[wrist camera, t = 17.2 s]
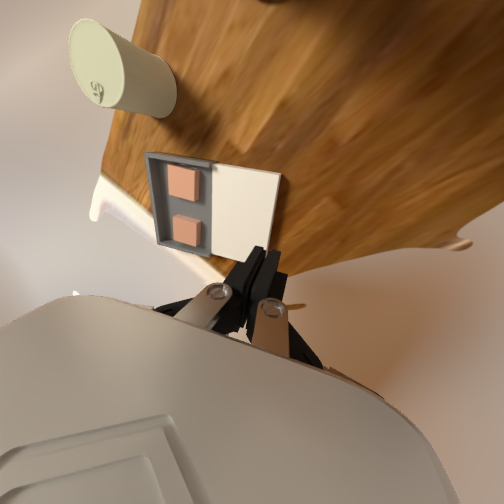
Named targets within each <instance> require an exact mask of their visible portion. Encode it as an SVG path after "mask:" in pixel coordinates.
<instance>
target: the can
mask: <svg viewBox="0 0 504 504" xmlns="http://www.w3.org/2000/svg"><path fill="white" fill-rule="evenodd" d="M68 51H69V59H70V64H71V67H72V71H73V73H74V76H75V78H76V81H77V82H78V84H79V86H80V88H81V89H82V91H83V92H84V93H85V95H86V96H87V97H88V98H89V99H90V100H91V101H92V102H94V103H95V104H96V105H98V106H101V107H103V108H112V109H118V110H124V111H129V112H134V113H140V114H145V115H149V116H152V117H155V118H164V117H166V116H168V115H169V114H170V113H171V112H172V111H173V109H174V107H175V104H176V99H177V87H176V82H175V78H174V75H173V73H172V71H171V69H170V67H169V66H168V65H167V63H166V62H165V61H164V60H163V59H162V58H160V57H159V56H157V55H154V54H151V53H149V52H147V51H145V50H144V49H142V48H140V47H138V46H136V45H135V44H133V43H131V42H129V41H128V40H126V39H124V38H122V37H121V36H119V35H117V34H116V33H114V32H112V31H111V30H109V29H107V28H106V27H104V26H102V25H101V24H99V23H98V22H97V21H95V20H92V19H81V20H79V21H77V23H75V24H74V26H73V27H72V29H71V32H70V35H69V42H68Z"/></svg>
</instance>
